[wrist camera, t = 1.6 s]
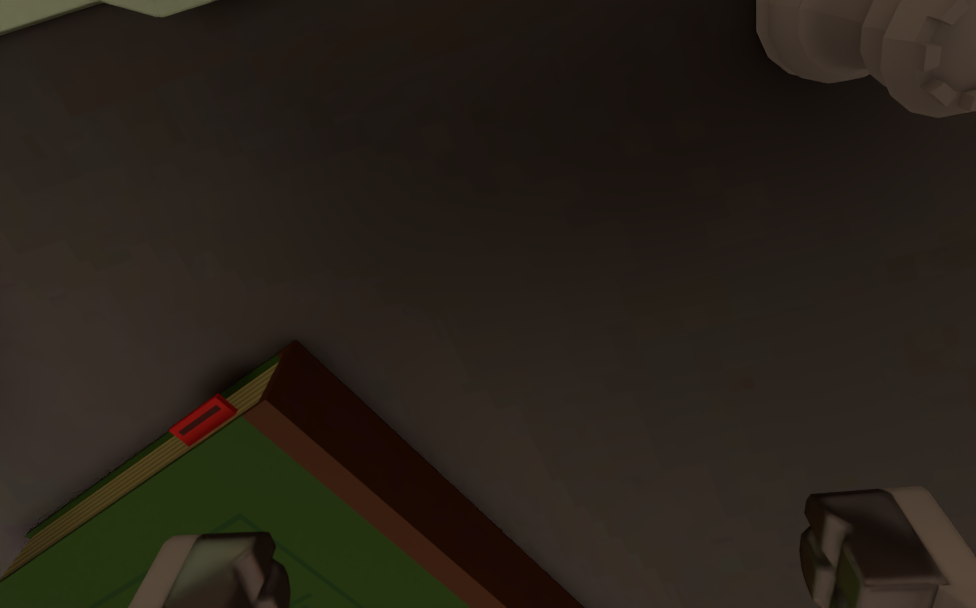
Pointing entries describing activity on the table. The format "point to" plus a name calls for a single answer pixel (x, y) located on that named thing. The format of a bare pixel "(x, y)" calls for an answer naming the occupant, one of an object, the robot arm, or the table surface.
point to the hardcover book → (284, 508)
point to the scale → (22, 3)
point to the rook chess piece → (879, 47)
